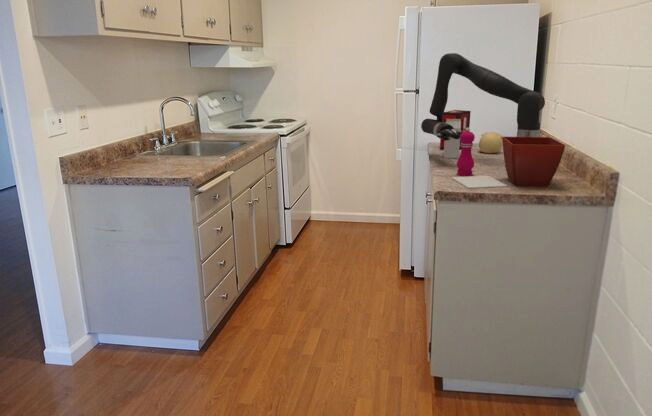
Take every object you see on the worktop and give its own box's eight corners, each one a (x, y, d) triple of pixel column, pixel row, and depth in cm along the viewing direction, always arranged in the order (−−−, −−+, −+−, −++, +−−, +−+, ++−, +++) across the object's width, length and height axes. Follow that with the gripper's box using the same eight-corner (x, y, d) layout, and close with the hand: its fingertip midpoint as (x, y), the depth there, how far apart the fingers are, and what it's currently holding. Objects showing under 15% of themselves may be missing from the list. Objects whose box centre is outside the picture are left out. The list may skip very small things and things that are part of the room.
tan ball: (503, 151, 266) (505, 131, 263) (497, 155, 256) (499, 134, 253) (482, 150, 272) (483, 130, 269) (475, 153, 262) (477, 132, 259)
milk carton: (458, 158, 249) (461, 119, 244) (443, 158, 251) (446, 119, 245) (458, 155, 256) (460, 118, 250) (443, 155, 257) (445, 118, 252)
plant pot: (560, 189, 190) (566, 144, 185) (508, 187, 192) (512, 144, 188) (546, 177, 208) (550, 136, 203) (498, 176, 211) (501, 136, 206)
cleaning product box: (453, 145, 286) (455, 110, 280) (468, 147, 281) (470, 110, 275) (439, 149, 274) (441, 112, 268) (455, 151, 268) (457, 113, 263)
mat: (450, 178, 209) (450, 177, 209) (487, 176, 211) (487, 175, 211) (468, 188, 192) (468, 187, 192) (507, 186, 194) (508, 185, 194)
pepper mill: (470, 177, 210) (474, 129, 204) (453, 175, 214) (456, 128, 208) (475, 173, 216) (479, 127, 210) (458, 172, 219) (462, 126, 214)
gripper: (430, 123, 235) (443, 128, 218) (457, 122, 236) (472, 128, 220) (429, 139, 237) (442, 145, 220) (456, 138, 239) (471, 145, 222)
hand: (457, 136), depth 220 cm, fingers closed
